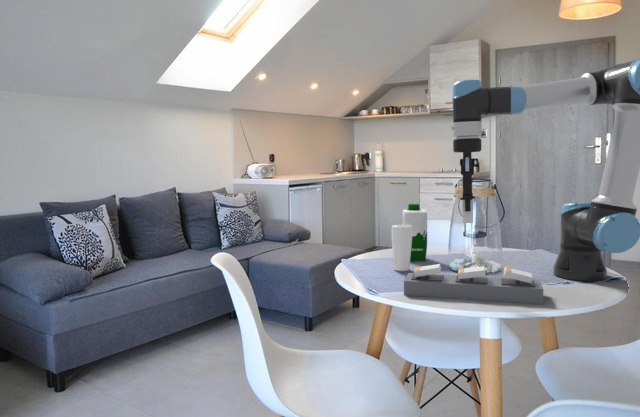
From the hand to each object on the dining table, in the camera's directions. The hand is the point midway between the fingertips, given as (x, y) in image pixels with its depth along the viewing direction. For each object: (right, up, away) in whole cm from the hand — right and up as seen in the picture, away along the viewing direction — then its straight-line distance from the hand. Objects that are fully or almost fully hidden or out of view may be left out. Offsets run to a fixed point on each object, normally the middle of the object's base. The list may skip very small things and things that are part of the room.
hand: (467, 222), depth 150 cm
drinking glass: (-14, -17, +29) cm, 37 cm away
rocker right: (+12, -14, -5) cm, 19 cm away
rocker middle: (+1, -14, -2) cm, 14 cm away
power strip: (+1, -20, -1) cm, 20 cm away
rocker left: (-11, -14, +2) cm, 18 cm away
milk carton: (-7, -15, +46) cm, 49 cm away
